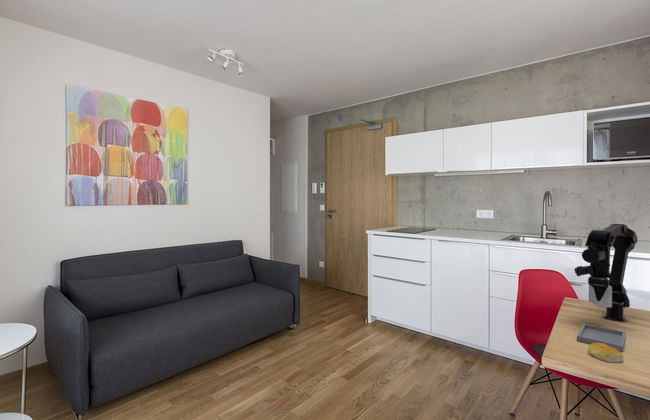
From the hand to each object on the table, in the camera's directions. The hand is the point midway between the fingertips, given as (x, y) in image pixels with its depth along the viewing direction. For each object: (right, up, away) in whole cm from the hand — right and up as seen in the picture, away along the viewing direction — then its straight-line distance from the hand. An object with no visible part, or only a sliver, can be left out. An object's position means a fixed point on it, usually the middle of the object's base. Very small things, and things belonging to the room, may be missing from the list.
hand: (599, 298), depth 135 cm
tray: (-10, -12, -13) cm, 20 cm away
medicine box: (0, -3, 0) cm, 3 cm away
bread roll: (-21, -12, -27) cm, 36 cm away
